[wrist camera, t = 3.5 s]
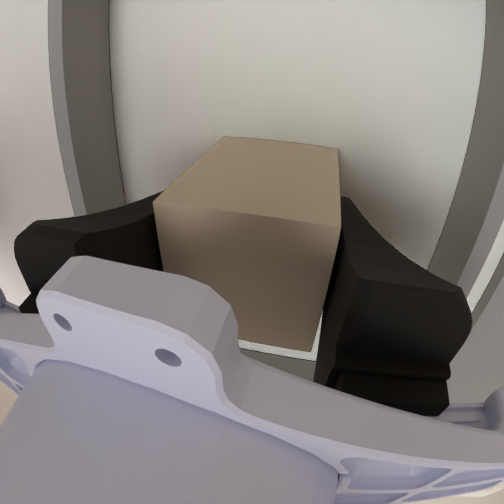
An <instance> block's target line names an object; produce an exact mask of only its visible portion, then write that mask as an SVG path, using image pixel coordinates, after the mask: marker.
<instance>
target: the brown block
mask: <svg viewBox="0 0 504 504" xmlns="http://www.w3.org/2000/svg"><path fill="white" fill-rule="evenodd" d="M153 208H154V215H155V222H156V228H157V235H158V241H159V247H160V253H161V259H162V265H163V270H164V272H167V273H172V274H177V275H182V276H186V277H188V278H190V279H193V280H195V281H198V282H200V283H203V284H206V285H208V286H210V287H211V288H212V289H213V290H214V291H215V292H217V293H218V294H219V295H220V296H221V297H222V298H223V299H224V300H225V301H226V302H228V303H229V304H230V305H231V307H232V310H233V312H234V315H235V318H236V321H237V323H238V339H240V340H245V341H250V342H255V343H260V344H266V345H271V346H277V347H282V348H288V349H294V350H300V351H306V352H311V350H312V347H313V343H314V339H315V336H316V332H317V328H318V325H319V321H320V317H321V313H322V309H323V305H324V301H325V297H326V293H327V289H328V285H329V281H330V276H331V272H332V268H333V263H334V259H335V254H336V250H337V245H338V240H339V236H340V231H341V203H340V180H339V163H338V149H335V148H329V147H322V146H315V145H307V144H300V143H291V142H283V141H273V140H263V139H253V138H240V137H227V136H224V137H223V138H222V139H221V140H220V141H219V142H217V143H216V144H215V145H214V146H213V147H212V148H210V149H209V150H208V151H207V152H206V153H205V154H204V155H203V156H201V157H200V158H199V159H198V160H197V161H196V162H195V163H194V164H192V165H191V166H190V167H189V168H188V169H187V170H186V171H185V172H184V173H183V174H182V175H180V176H179V177H178V178H177V179H176V180H175V181H174V182H173V183H172V184H171V185H170V186H169V187H168V188H167V189H166V190H165V191H164V192H162V193H161V194H160V195H159V196H158V197H157V198H156V199H155V200H154V201H153Z"/></svg>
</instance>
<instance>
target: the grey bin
mask: <svg viewBox="0 0 504 504" xmlns="http://www.w3.org/2000/svg"><path fill="white" fill-rule="evenodd" d="M48 49H49V67H50V79H51V90H52V99H53V107H54V115H55V122H56V129H57V135H58V141H59V147H60V152H61V157H62V163H63V168H64V172H65V177H66V182H67V186H68V190H69V195H70V199H71V203H72V207H73V211H74V214H75V217H77V216H83V215H88V214H93V213H97V212H102V211H106V210H110V209H114V208H118V207H121V206H124V205H126V202H125V196H124V191H123V184H122V178H121V172H120V165H119V158H118V150H117V142H116V134H115V125H114V115H113V105H112V93H111V79H110V60H109V0H48ZM503 219H504V0H486V32H485V46H484V57H483V66H482V74H481V81H480V88H479V95H478V101H477V106H476V112H475V117H474V122H473V127H472V131H471V136H470V140H469V145H468V149H467V153H466V157H465V161H464V165H463V168H462V172H461V176H460V179H459V183H458V186H457V189H456V193H455V196H454V199H453V202H452V205H451V208H450V211H449V214H448V217H447V220H446V223H445V226H444V229H443V232H442V234H441V237H440V240H439V242H438V245H437V248H436V250H435V253H434V255H433V258H432V260H431V263H430V265H429V268H428V270H427V271H429V272H430V273H432V274H434V275H436V276H438V277H440V278H442V279H444V280H446V281H448V282H450V283H452V284H454V285H457V286H459V287H461V288H462V290H463V292H464V295H465V297H466V298H467V296H468V294H469V293H470V291H471V289H472V287H473V285H474V283H475V281H476V279H477V277H478V275H479V273H480V271H481V269H482V267H483V265H484V263H485V261H486V259H487V257H488V254H489V252H490V250H491V248H492V245H493V243H494V241H495V239H496V236H497V234H498V231H499V229H500V227H501V224H502V222H503ZM239 349H240V352H241V353H242V354H243V355H245V356H247V357H250V358H252V359H255V360H257V361H260V362H262V363H265V364H267V365H270V366H272V367H275V368H277V369H280V370H282V371H285V372H288V373H290V374H293V375H296V376H298V377H301V378H304V379H307V380H309V381H312V382H313V378H314V372H315V366H316V362H314V361H307V360H301V359H295V358H289V357H283V356H277V355H272V354H266V353H261V352H256V351H251V350H246V349H241V348H239Z"/></svg>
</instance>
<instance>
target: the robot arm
mask: <svg viewBox="0 0 504 504" xmlns="http://www.w3.org/2000/svg"><path fill="white" fill-rule="evenodd" d="M164 191H165V190H164ZM164 191H162V192H164ZM162 192H160V193H157V194H155V195H152V196H149V197H147V198H144V199H142V200H139V201H136V202H134V203H131V204H127V205H124V206H121V207H118V208H114V209H110V210H106V211H102V212H97V213H93V214H88V215H83V216H77V217H70V218H62V219H51V220H37V221H35V222H33V223H32V224H31V225H30V226H28V227H27V228H26V229H25V230H24V231H22V232H21V233H20V234H19V235H18V236H17V237H16V239H15V242H14V253H15V258H16V261H17V264H18V266H19V268H20V271H21V273H22V275H23V277H24V279H25V282H26V284H27V286H28V288H29V290H30V292H31V294H30V295H29V296H28V297H27V298H26V300H25V301H24V302H23V303H22V304H21V305H20V307H19V306H17V305H14V304H12V303H10V302H8V301H6V297H5V295H4V293H3V291H2V290H1V288H0V381H2V382H3V383H4V384H5V385H7V386H8V387H9V388H10V389H12V390H13V391H14V392H16V393H17V394H18V395H19V396H18V398H17V399H16V401H15V402H14V404H13V406H12V407H11V409H10V411H9V412H8V414H7V415H6V417H5V419H4V421H3V422H2V424H1V426H0V504H401V503H409V502H417V501H424V500H431V499H438V498H444V497H450V496H455V495H461V494H466V493H471V492H476V491H481V490H486V489H490V488H492V487H494V486H496V485H498V484H500V483H502V482H504V387H501V388H499V389H497V390H495V391H494V392H493V393H492V394H491V395H490V396H489V397H488V398H487V399H486V400H485V402H481V403H450V402H449V395H448V388H447V381H446V380H449V378H450V377H451V370H450V365H449V364H450V362H451V361H452V360H453V358H454V357H455V356H456V354H457V353H458V351H459V350H460V349H461V347H462V346H463V344H464V343H465V341H466V340H467V338H468V336H469V334H470V332H471V328H472V322H473V321H472V315H471V311H470V308H469V306H468V303H467V300H466V297H465V295H464V292H463V290H462V288H461V287H459V286H457V285H454V284H452V283H450V282H448V281H446V280H444V279H442V278H440V277H438V276H436V275H434V274H432V273H430V272H429V271H427V270H425V269H423V268H422V267H420V266H419V265H417V264H416V263H414V262H413V261H411V260H410V259H408V258H407V257H406V256H404V255H403V254H401V253H400V252H399V251H398V250H396V249H395V248H394V247H393V246H392V245H391V244H389V243H388V242H387V241H386V240H385V239H384V238H383V237H382V236H381V235H380V234H379V233H378V232H377V231H376V230H375V229H374V228H373V227H372V226H371V225H370V223H369V222H368V221H367V220H366V219H365V218H364V216H363V215H362V214H361V213H360V211H359V210H358V209H357V207H356V206H355V205H354V203H353V202H352V201H351V200H350V198H347V197H341V196H340V203H341V231H340V236H339V240H338V245H337V250H336V254H335V259H334V263H333V268H332V272H331V276H330V281H329V285H328V289H327V293H326V297H325V301H324V305H323V313H322V324H321V332H320V339H319V346H318V353H317V360H316V366H315V372H314V378H313V382H312V381H309V380H307V379H304V378H301V377H298V376H296V375H293V374H290V373H288V372H285V371H282V370H280V369H277V368H275V367H272V366H270V365H267V364H265V363H262V362H260V361H257V360H255V359H252V358H250V357H247V356H245V355H243V354H242V353H241V352H240V349H239V344H238V323H237V321H236V318H235V315H234V312H233V310H232V307H231V305H230V304H229V303H228V302H226V301H225V300H224V299H223V298H222V297H221V296H220V295H219V294H218V293H217V292H215V291H214V290H213V289H212V288H211V287H210V286H208V285H206V284H203V283H200V282H198V281H195V280H193V279H190V278H188V277H186V276H182V275H177V274H172V273H167V272H164V270H163V265H162V259H161V253H160V247H159V241H158V235H157V228H156V222H155V215H154V208H153V201H154V200H155V199H156V198H157V197H158V196H159V195H160V194H161V193H162Z"/></svg>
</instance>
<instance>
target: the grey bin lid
mask: <svg viewBox="0 0 504 504" xmlns="http://www.w3.org/2000/svg"><path fill="white" fill-rule="evenodd" d="M471 315H472V321H473V322H472V328H471V332H470V334H469V336H468V338H467V340H466V341H465V343H464V344H463V346H462V347H461V349H460V350H459V351H458V353H457V354H456V356H455V357H454V358H453V360H452V361H451V362H450V364H449V365H450V370H451V377H450V378H449V380H446V381H447V388H448V395H449V402H450V403H481V402H485V400H486V399H487V398H488V397H489V396H490V395H491V394H492V393H493V392H494V391H495V390H497V389H499V388H501V387H504V254H503V257H502V259H501V261H500V263H499V265H498V267H497V269H496V271H495V273H494V275H493V277H492V279H491V280H490V282H489V284H488V286H487V288H486V290H485V292H484V293H483V295H482V297H481V299H480V301H479V302H478V304H477V306H476V307H475V309H474V311H473V312H472V314H471Z"/></svg>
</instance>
